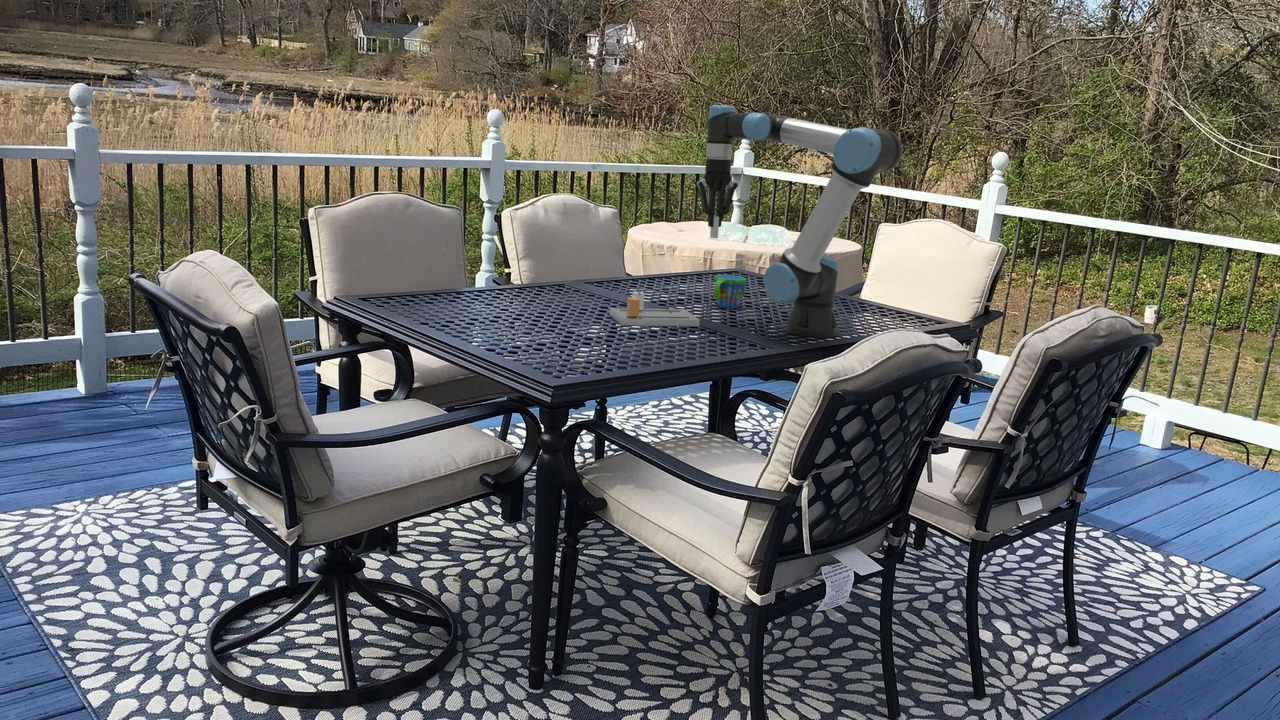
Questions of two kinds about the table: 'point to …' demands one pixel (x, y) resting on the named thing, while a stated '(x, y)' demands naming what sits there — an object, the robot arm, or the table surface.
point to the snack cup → (729, 290)
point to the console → (655, 317)
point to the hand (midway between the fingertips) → (713, 237)
